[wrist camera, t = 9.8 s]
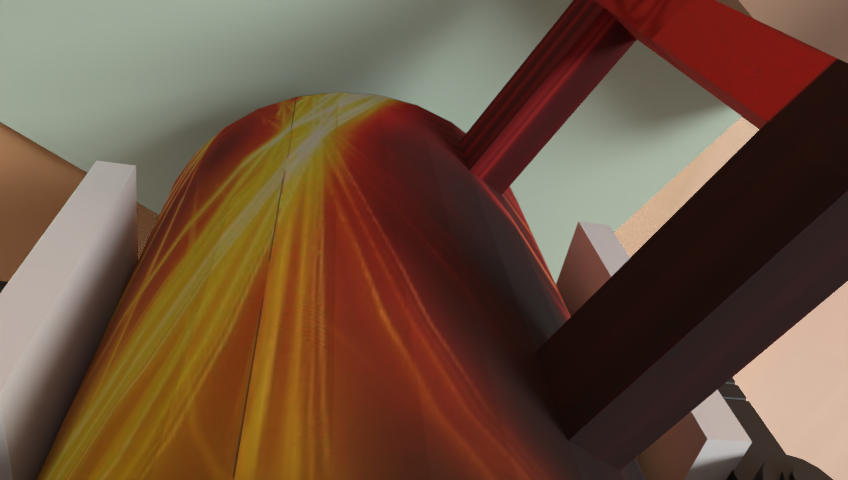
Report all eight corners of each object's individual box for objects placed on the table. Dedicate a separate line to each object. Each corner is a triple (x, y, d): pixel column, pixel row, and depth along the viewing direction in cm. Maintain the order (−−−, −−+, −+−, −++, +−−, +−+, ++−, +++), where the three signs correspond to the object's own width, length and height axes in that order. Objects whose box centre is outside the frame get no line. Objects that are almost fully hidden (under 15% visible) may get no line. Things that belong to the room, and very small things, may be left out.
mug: (634, -52, 15) (1301, 232, 4) (476, 409, 21) (596, 937, 11) (166, -161, 13) (-525, -96, 3) (155, 383, 20) (-46, 989, 9)
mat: (-71, 65, 17) (-83, 73, 17) (233, -504, 13) (229, -517, 12) (444, 372, 25) (446, 384, 24) (757, 85, 20) (768, 91, 20)
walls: (-139, 25, 17) (-301, 94, 13) (205, -694, 12) (126, -992, 7) (444, 372, 25) (465, 485, 21) (803, 43, 20) (930, 104, 15)
